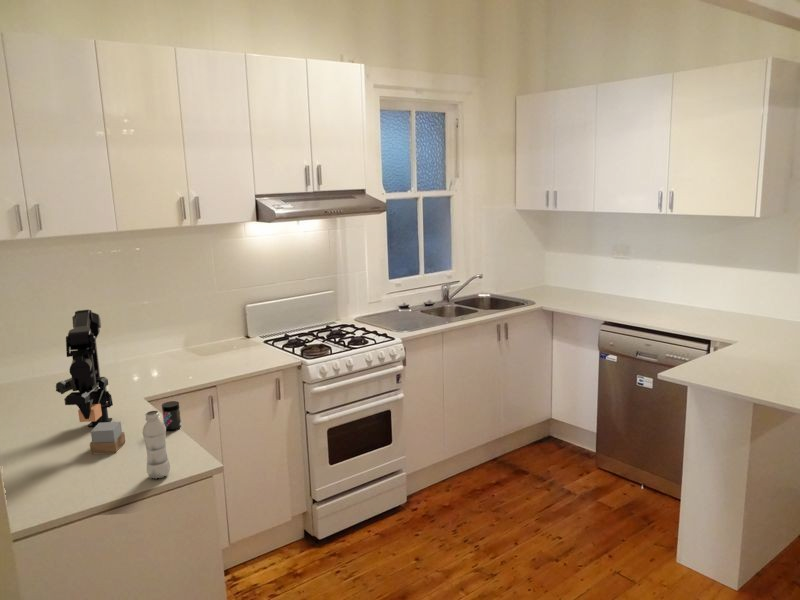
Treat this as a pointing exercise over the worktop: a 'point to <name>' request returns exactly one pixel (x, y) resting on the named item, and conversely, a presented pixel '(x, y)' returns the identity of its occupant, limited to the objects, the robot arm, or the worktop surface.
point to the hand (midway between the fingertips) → (90, 415)
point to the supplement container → (171, 415)
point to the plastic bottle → (155, 446)
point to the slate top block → (106, 432)
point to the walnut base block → (108, 445)
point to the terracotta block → (91, 414)
